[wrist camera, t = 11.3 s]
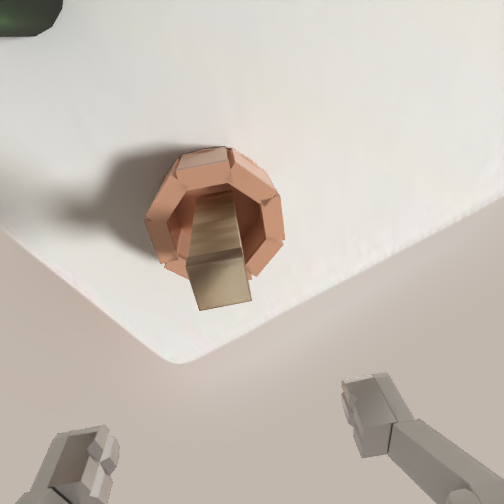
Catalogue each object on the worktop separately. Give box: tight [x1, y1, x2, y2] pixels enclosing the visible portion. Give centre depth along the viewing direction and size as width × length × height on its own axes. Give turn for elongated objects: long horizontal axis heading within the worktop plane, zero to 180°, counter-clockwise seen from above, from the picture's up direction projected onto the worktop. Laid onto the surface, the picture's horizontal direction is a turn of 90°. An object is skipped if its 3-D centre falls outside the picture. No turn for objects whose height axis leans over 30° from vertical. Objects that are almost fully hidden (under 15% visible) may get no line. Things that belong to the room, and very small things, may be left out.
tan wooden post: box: [185, 190, 252, 311], centre depth 22 cm, size 3×3×11 cm
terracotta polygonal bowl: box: [145, 146, 285, 280], centre depth 25 cm, size 10×10×5 cm
